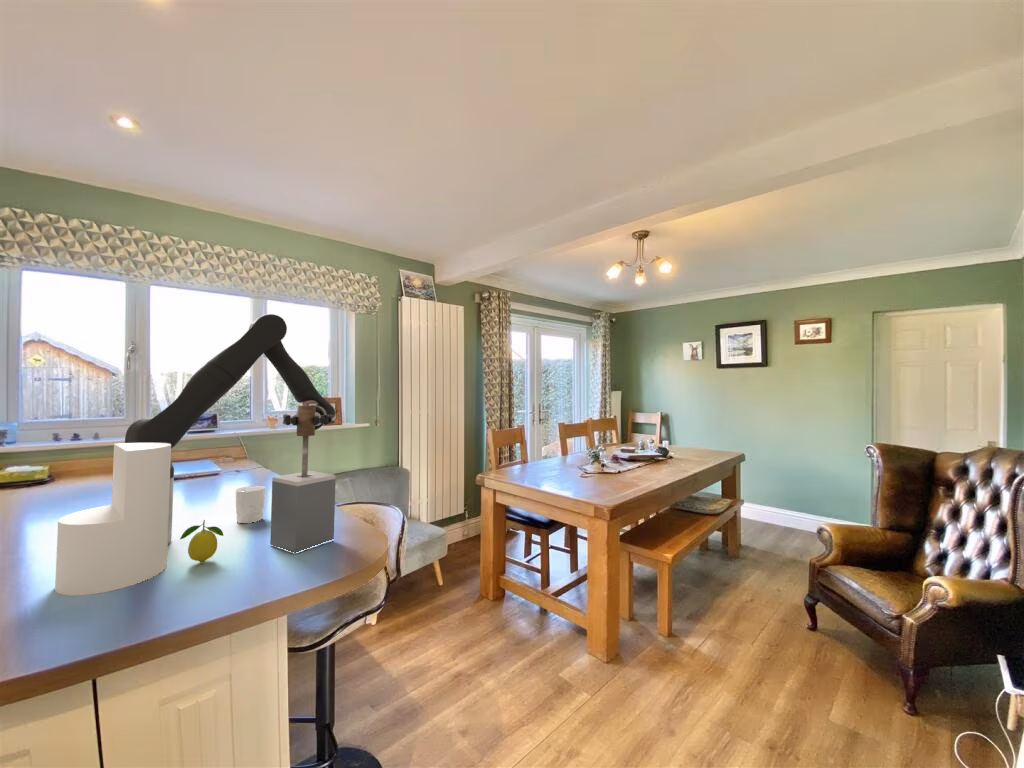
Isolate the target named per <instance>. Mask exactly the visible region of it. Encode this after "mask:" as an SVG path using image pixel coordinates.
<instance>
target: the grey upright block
mask: <svg viewBox="0 0 1024 768" xmlns="http://www.w3.org/2000/svg"><path fill="white" fill-rule="evenodd" d="M336 477H337V475H336V474H332V473H327V472H320V471H314V470H308V474H307V477H304V478H302V471H301V472H295V473H290V474H284V475H277V476H272V477H271V478H272V479H271V505H270V506H271V508H270V510H271V511H270V512H271V514H270V535H269V537H270V538H269V539H270V540H269V541H270V542H269V545H270V544H271V545H273V546H276V547H280V548H283V549H286V550H288V551H291V552H294V553H296V552H299V551H301V550H304V549H307V548H310V547H312V546H315V545H318V544H321V543H323V542H326V541H329V540H332V539H334V540H335V513H336V512H335V510H336Z"/></svg>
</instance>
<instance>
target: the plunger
mask: <svg viewBox="0 0 1024 768" xmlns="http://www.w3.org/2000/svg"><path fill="white" fill-rule="evenodd" d="M296 408H297V410H296V414H297V426H296V437H297V436H298V437H302V453H301V472H302V478H304V477H307V474H308V471H309V470H308V468H309V467H308V466H309V464H308V462H309V439H310V438H309V437H311V436H315V435H316V430H315V425H314V417H315V409H316V406H310V405H297V407H296Z"/></svg>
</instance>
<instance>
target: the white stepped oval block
mask: <svg viewBox="0 0 1024 768" xmlns="http://www.w3.org/2000/svg"><path fill="white" fill-rule="evenodd" d="M171 451H172V448H171V444H169V443H125V442H120V443H113V461H112V464H113V465H112V483H111V484H112V485H111V487H112V489H111V504H108V505H102V506H97V507H92V508H87V509H83V510H79V511H75V512H72V513H69V514H65V515H64V516H62V517H60V518H59V519H58V521H57V540H56V541H57V542H56V557H55V558H56V561H55V581H54V582H55V586H54V591H55V592H56V593H57V594H59V595H63V596H71V597H73V596H75V597H76V596H77V597H78V596H89V595H95V594H102V593H107V592H112V591H116V590H120V589H124V588H128V587H130V586H134V585H137V583H138V584H139V583H142V581H143V582H145V580H146V581H148V580H150V579H152V578H154V577H156V576H158V575H159V573H160V572H161V573H163V572H164V571H165V570H166V569H167V567H166V566H168V565H167V562H168V544H167V543H168V516H169V490H170V463H172V461H171V460H172V452H171ZM164 569H165V570H164ZM163 570H164V571H163ZM161 573H160V574H161ZM153 576H154V577H153ZM147 579H148V580H147Z"/></svg>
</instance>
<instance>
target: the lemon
mask: <svg viewBox="0 0 1024 768" xmlns="http://www.w3.org/2000/svg"><path fill="white" fill-rule="evenodd" d="M205 522H206V521H205V519H203V522H202V524H201V525H192V526H190V527H188V528H187V529H185V531H184V532H183V533H182V535H181V536H180V537H179V540H183V539H185V538H187V537H188V536H190V535H191V534H192V533H194V532H196V531H197V530H199V528H201V526H202V529H201V531H199V532H197V533H196V534H195V535H194V536H192V538H191V539H190V541H189V544H188V548H187V553H188V557H189V559H191V560H192V561H195V562H200V563H201V564H204V563H205V562H206V561H207V560H208V559H210V558H212V557H213V556H214V555H215V553H216V552H217V549H218V539H217V536H216V535H219V536H222V537H223V536H224V532H223V530H222V529H221V528H220V527H218V526H205V525H206V524H205ZM205 528H206V529H205Z"/></svg>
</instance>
